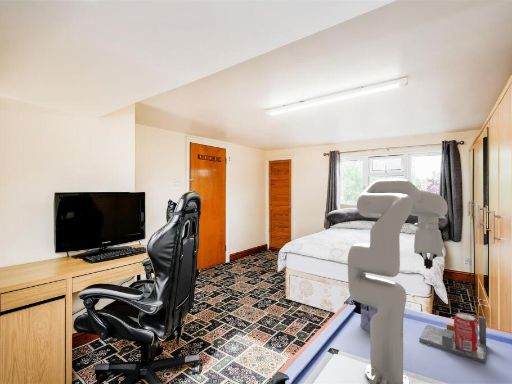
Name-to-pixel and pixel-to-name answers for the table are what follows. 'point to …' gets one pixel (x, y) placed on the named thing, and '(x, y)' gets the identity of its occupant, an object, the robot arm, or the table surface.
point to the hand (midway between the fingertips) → (428, 268)
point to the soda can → (465, 332)
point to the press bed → (434, 338)
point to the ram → (448, 335)
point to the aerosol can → (367, 315)
